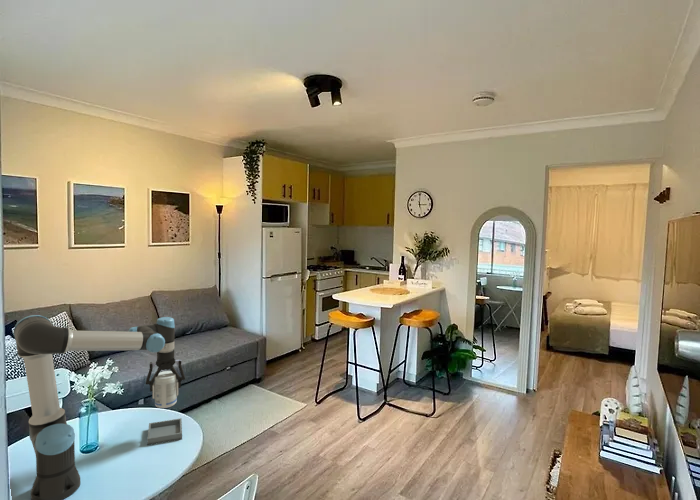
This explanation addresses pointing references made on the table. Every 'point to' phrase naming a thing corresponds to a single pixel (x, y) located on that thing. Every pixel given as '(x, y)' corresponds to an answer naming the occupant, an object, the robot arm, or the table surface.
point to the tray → (164, 431)
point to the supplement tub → (165, 389)
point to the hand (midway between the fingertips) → (165, 395)
